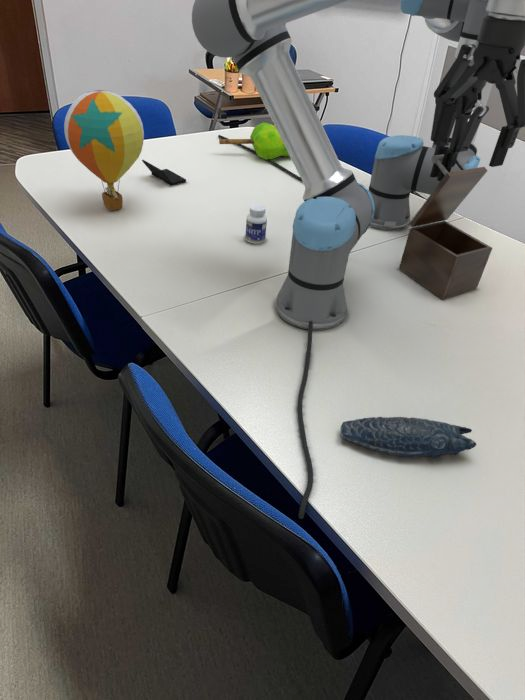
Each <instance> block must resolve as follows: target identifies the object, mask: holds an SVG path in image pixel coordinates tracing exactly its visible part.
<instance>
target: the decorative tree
mask: <svg viewBox="0 0 525 700" xmlns="http://www.w3.org/2000/svg"><path fill="white" fill-rule="evenodd" d="M218 143H219V145H236V144H242V145H252V147H253V150H254V151H256V153H257V155H256V156H258V157H259V158H261V159H263V160H265V159H266V160H265V161H267V159H271V160H273V159H275V158H278V157H290V155H289V153H288V151H287V149H286V147H285V145H284V143H283V141H282V139H281V137H280V135H279V133H278V131H277V129H276V127H275V125H274V124H271V123H268V122H262V123H259V124H258V125H256V126H254V127H253V129H252V131H251V134H250V137H249V138H228V139H221V138H219V141H218Z"/></svg>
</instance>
